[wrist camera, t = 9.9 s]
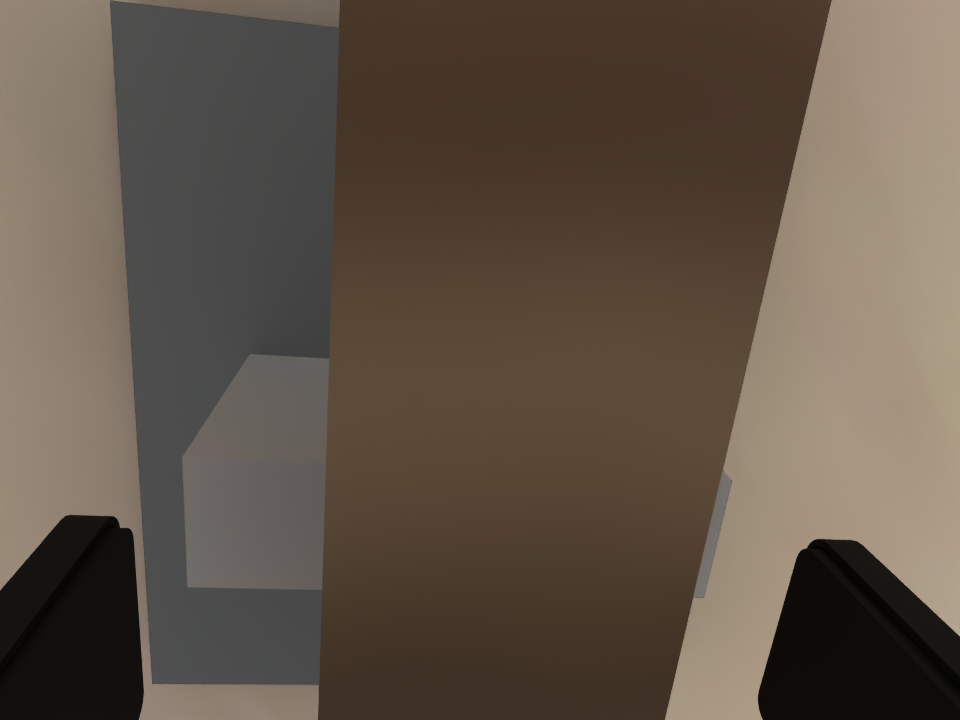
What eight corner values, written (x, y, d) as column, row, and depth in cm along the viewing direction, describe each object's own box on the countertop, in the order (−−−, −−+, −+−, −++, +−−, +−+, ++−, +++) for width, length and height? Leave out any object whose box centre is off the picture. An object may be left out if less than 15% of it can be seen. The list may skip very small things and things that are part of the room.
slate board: (130, 8, 14) (-57, -64, 8) (785, 86, 16) (996, 69, 10) (164, 656, 19) (63, 881, 13) (657, 660, 21) (750, 861, 15)
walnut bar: (378, -218, 8) (354, -494, 5) (699, -166, 9) (919, -376, 5) (329, 935, 15) (303, 1217, 11) (517, 927, 15) (554, 1195, 11)
